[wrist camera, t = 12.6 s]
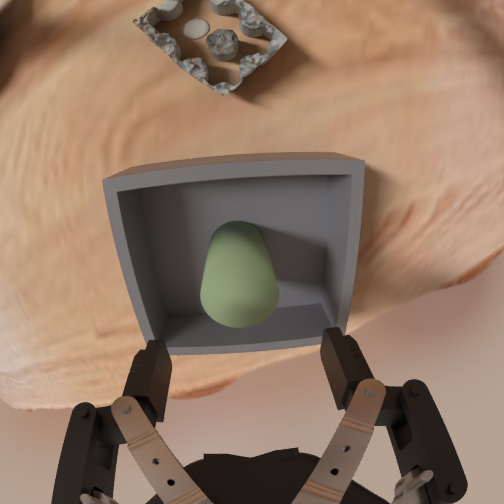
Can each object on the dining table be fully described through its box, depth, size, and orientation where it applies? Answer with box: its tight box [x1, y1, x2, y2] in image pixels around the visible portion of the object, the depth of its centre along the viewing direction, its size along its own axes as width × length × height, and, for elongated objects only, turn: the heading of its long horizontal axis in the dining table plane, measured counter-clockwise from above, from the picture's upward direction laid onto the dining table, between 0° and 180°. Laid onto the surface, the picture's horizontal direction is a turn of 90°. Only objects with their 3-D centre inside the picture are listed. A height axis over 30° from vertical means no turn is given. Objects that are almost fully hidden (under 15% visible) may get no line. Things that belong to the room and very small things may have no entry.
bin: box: [102, 152, 365, 355], centre depth 23 cm, size 16×18×6 cm
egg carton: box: [133, 0, 287, 96], centre depth 16 cm, size 11×8×4 cm
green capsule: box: [200, 221, 280, 328], centre depth 21 cm, size 5×5×8 cm
